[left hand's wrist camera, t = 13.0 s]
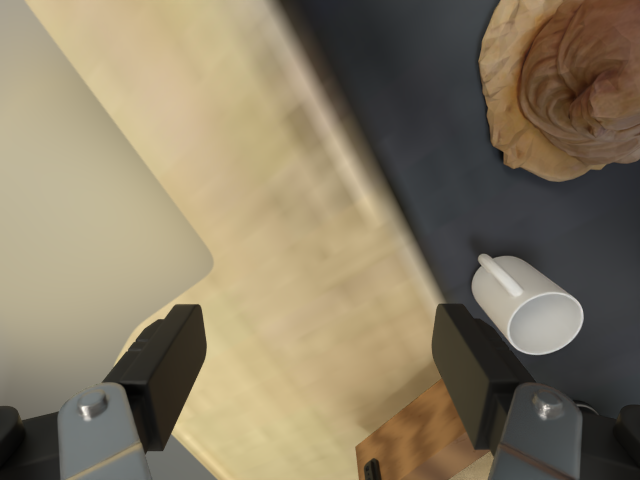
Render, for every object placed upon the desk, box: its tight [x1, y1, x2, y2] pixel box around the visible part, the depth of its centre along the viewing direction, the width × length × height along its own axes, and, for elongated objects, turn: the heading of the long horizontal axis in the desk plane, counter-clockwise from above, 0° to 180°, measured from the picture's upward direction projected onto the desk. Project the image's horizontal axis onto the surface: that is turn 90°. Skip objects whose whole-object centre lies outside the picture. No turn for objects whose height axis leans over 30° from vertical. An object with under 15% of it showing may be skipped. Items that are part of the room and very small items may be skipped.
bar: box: [356, 379, 490, 480], centre depth 47 cm, size 24×5×9 cm, turn 139°
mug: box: [472, 254, 583, 355], centre depth 42 cm, size 12×8×10 cm
